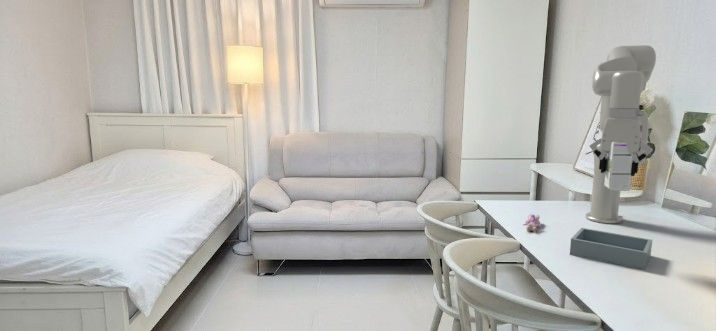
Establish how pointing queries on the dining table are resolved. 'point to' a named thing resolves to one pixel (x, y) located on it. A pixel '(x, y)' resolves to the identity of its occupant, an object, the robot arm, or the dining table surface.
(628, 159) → the syrup box
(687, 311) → the dining table surface
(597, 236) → the crate
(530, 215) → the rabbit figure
